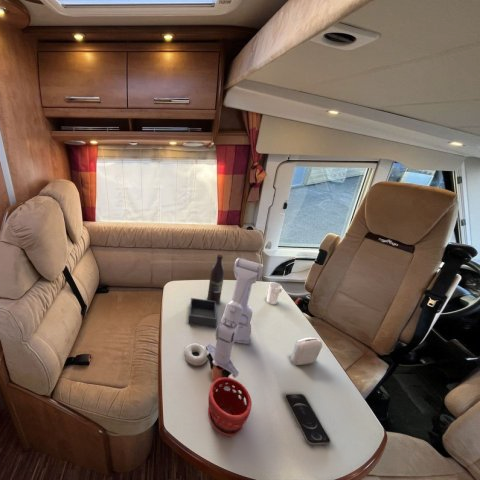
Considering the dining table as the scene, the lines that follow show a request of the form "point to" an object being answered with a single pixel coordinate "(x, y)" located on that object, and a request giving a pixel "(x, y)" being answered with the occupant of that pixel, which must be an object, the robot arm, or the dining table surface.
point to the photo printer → (306, 351)
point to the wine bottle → (216, 281)
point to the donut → (195, 359)
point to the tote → (203, 312)
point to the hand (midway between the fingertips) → (218, 374)
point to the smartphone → (307, 419)
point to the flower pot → (228, 406)
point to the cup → (273, 292)
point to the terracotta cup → (216, 372)
